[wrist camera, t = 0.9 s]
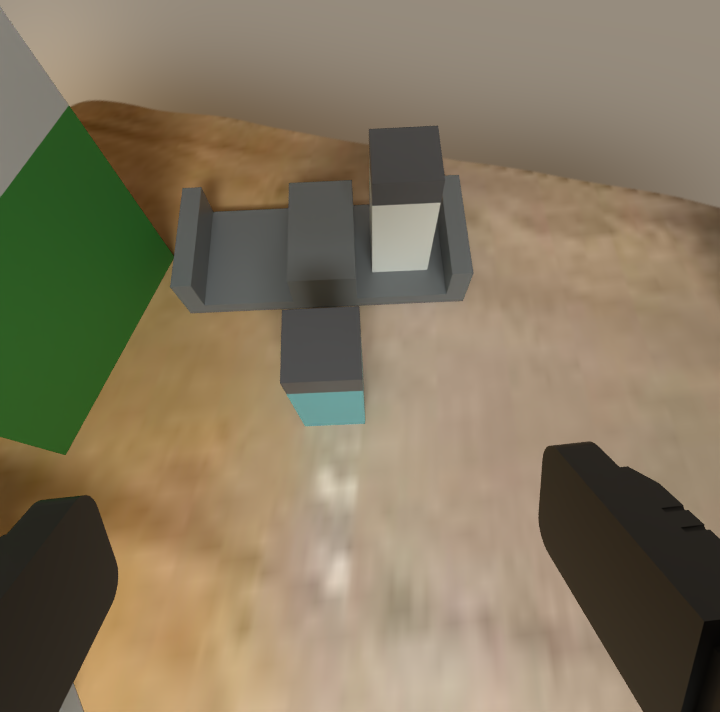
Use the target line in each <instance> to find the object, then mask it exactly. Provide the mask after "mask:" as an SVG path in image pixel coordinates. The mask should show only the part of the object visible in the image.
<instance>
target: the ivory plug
mask: <svg viewBox="0 0 720 712" xmlns="http://www.w3.org/2000/svg"><path fill="white" fill-rule="evenodd" d="M444 184H445V175H444V168H443V160H442V153H441V146H440V138H439V130H438V126H423V127H403V128H383V129H369V202H370V241H371V259H372V272H389V271H411V270H427V268H428V263H429V258H430V253H431V248H432V243H433V238H434V233H435V228H436V224H437V219H438V214H439V209H440V204H441V199H442V194H443V189H444Z"/></svg>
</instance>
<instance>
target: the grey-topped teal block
mask: <svg viewBox="0 0 720 712" xmlns="http://www.w3.org/2000/svg"><path fill="white" fill-rule="evenodd" d="M280 384H281V386H282V387H283V389H284V391H285V392H286V394H287V396H288V398H289V399H290V401H291V403H292V405H293V406H294V408H295V410H296V411H297V413H298V415H299V417H300V418H301V420H302V422H303V423H304V425H305V426H321V425H344V424H365V409H364V386H363V364H362V347H361V329H360V311H359V306H355V307H333V308H311V309H290V310H282V330H281V369H280Z"/></svg>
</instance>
